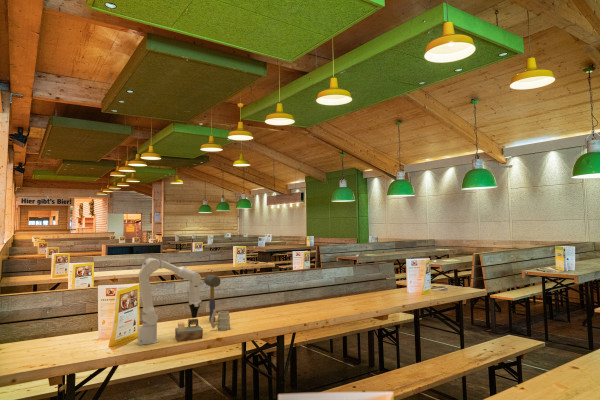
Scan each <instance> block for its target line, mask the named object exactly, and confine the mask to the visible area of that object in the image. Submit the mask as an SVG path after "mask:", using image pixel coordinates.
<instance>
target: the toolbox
mask: <svg viewBox="0 0 600 400" xmlns="http://www.w3.org/2000/svg"><path fill="white" fill-rule="evenodd" d="M188 319H189V320H188V321H187V325H188V326H187V327H190V326H191V324H190V322H194V321H196V322H197V324H195V326H198V325H199V319H198V318H188ZM174 335H175V336H174V337H175V339H176V341H177V342H178V343H180V342H186V341H187V342H188V341H195V340H202V338H203V335H204V334H203V331H200V332H192V333H184V334H177V332H176V331H175V330H174Z"/></svg>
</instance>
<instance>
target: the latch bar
mask: <svg viewBox="0 0 600 400" xmlns="http://www.w3.org/2000/svg"><path fill="white" fill-rule="evenodd" d="M189 319H190V318H188V320H189ZM196 324H197V322H196V321H194V322H190V326H196Z"/></svg>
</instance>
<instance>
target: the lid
mask: <svg viewBox="0 0 600 400" xmlns="http://www.w3.org/2000/svg"><path fill="white" fill-rule="evenodd" d="M175 331H176V332H177V334H184V333H192V332H200V331H203V328H202V327H201V326H200V325H199V324H198V326H196V325H190V327H188V326H186V325H185V322H184V321H182V322H179V321H178V322H177V327H175V328H174V332H175Z"/></svg>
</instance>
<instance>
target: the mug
mask: <svg viewBox="0 0 600 400" xmlns="http://www.w3.org/2000/svg"><path fill="white" fill-rule="evenodd" d="M217 316H218V317H217ZM216 317H217V322H215V321H214V318H215V319H216ZM230 318H231V316H230V311H227V310H226V311H225V310H223V311H222V310H221V311H218V313H217V311H216V309H215V310H213V314H212V317H211V320H210V321H211V322H210V321H209V322H210V326H211V328H212V329H215V328H216V327H217V330H218V331H228V330H230V329H231V324H230V323H231V322H230V320H231V319H230Z"/></svg>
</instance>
